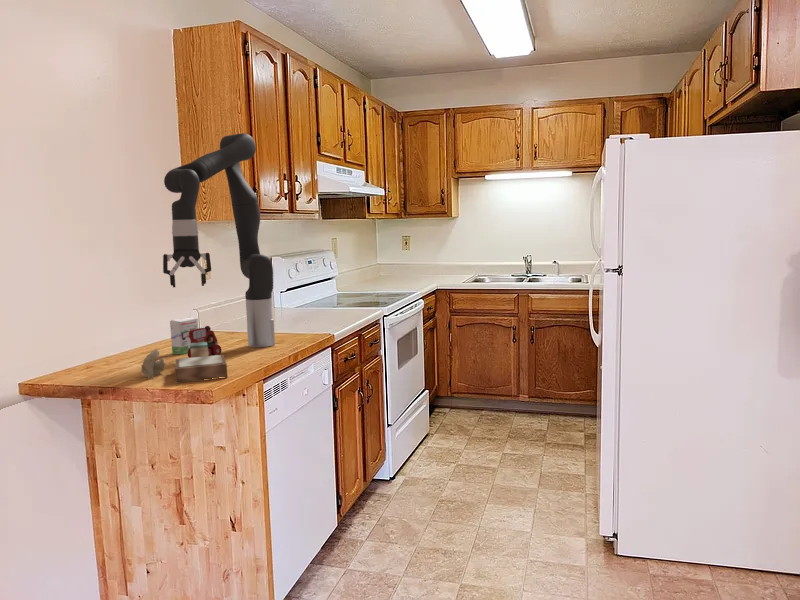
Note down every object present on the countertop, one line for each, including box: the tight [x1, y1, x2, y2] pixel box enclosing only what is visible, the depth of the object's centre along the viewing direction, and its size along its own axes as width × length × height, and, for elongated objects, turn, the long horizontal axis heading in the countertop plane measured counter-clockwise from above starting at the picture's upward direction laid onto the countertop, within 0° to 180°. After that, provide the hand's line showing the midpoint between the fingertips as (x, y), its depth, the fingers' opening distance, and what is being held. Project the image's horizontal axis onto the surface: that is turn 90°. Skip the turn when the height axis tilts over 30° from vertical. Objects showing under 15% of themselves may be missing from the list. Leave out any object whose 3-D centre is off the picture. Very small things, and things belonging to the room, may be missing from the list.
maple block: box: [190, 342, 208, 358], centre depth 195 cm, size 5×5×7 cm
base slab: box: [174, 354, 228, 384], centre depth 183 cm, size 14×14×4 cm
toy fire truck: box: [186, 325, 222, 358], centre depth 207 cm, size 7×12×10 cm, turn 158°
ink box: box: [169, 316, 199, 355], centre depth 217 cm, size 8×5×12 cm, turn 151°
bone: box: [140, 348, 166, 380], centre depth 183 cm, size 9×6×10 cm
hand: (188, 286), depth 195 cm, fingers open, 8 cm apart
